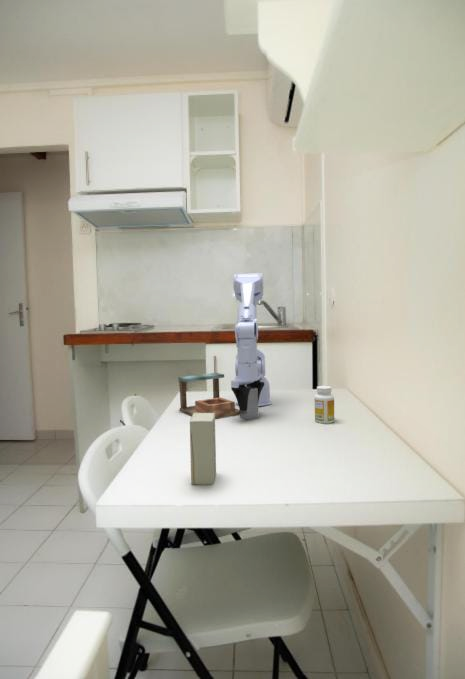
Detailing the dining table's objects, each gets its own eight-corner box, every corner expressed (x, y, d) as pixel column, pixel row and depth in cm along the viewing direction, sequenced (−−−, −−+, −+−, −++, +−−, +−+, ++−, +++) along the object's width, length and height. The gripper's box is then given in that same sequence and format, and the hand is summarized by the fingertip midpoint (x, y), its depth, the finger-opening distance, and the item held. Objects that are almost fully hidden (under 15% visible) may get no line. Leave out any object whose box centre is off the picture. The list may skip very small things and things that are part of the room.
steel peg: (250, 415, 132) (250, 386, 131) (258, 418, 128) (257, 387, 128) (239, 417, 130) (238, 387, 129) (246, 420, 126) (246, 389, 126)
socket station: (217, 405, 148) (216, 372, 147) (242, 414, 134) (241, 378, 133) (179, 411, 141) (178, 377, 140) (202, 421, 127) (200, 383, 126)
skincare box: (195, 472, 87) (192, 412, 86) (217, 472, 87) (215, 412, 86) (190, 485, 81) (188, 420, 80) (214, 485, 81) (212, 420, 80)
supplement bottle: (333, 418, 125) (332, 385, 125) (335, 423, 120) (335, 388, 119) (314, 418, 126) (313, 385, 125) (315, 423, 121) (315, 388, 120)
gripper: (249, 359, 136) (250, 402, 137) (221, 364, 124) (223, 411, 125) (269, 360, 132) (270, 404, 133) (242, 365, 120) (243, 414, 121)
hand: (248, 408), depth 129 cm, fingers closed on steel peg, 5 cm apart
